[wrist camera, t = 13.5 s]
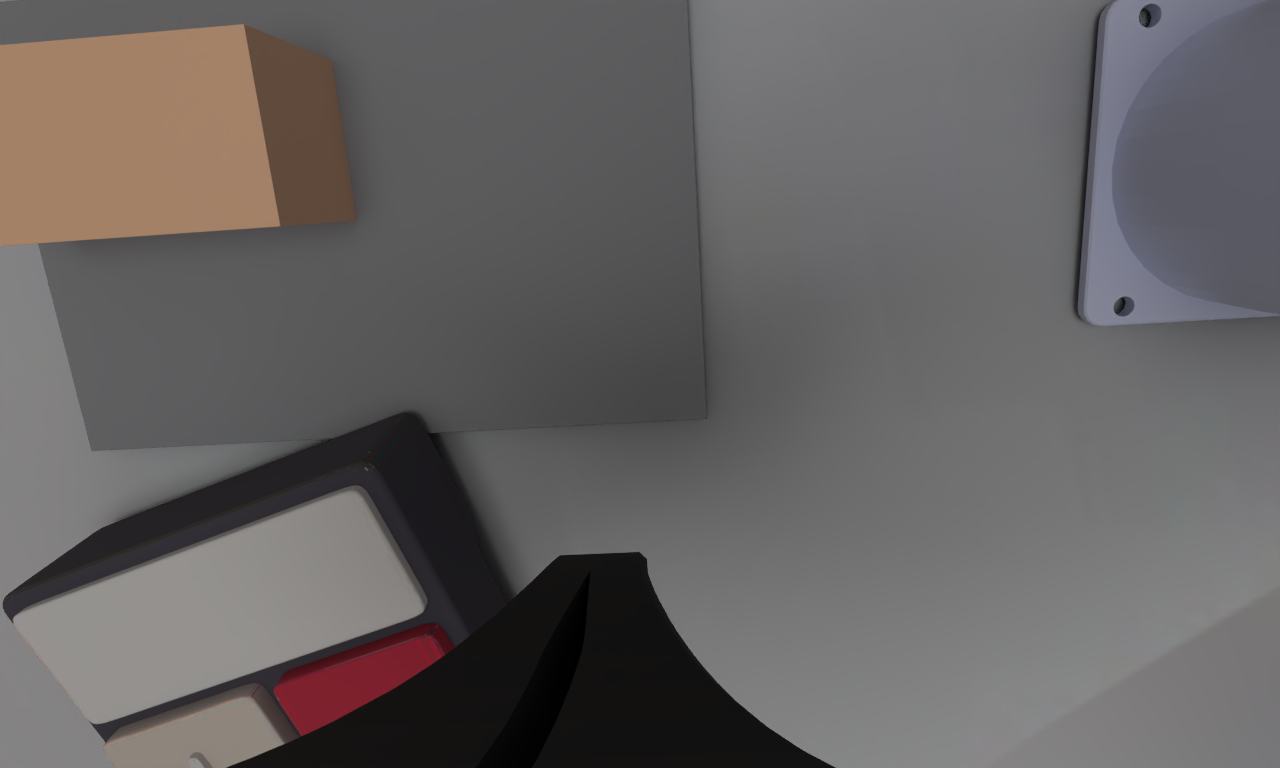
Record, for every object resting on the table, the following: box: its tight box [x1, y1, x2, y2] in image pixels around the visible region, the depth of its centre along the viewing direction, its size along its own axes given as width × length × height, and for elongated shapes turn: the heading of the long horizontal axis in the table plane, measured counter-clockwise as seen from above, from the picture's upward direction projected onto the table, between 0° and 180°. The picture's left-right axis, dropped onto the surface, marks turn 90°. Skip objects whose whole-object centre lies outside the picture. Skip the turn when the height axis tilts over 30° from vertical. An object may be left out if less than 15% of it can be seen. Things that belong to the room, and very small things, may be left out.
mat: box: [0, 0, 707, 451], centre depth 20 cm, size 18×12×1 cm, turn 94°
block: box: [0, 24, 357, 246], centre depth 18 cm, size 4×4×8 cm
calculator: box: [3, 413, 507, 768], centre depth 22 cm, size 11×4×15 cm
